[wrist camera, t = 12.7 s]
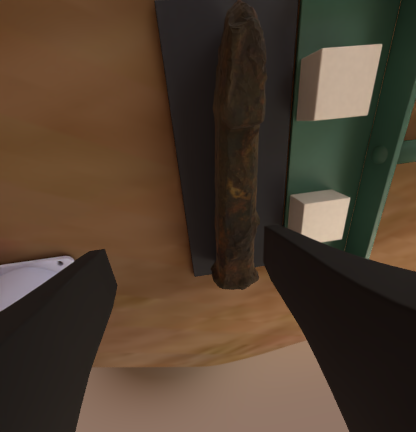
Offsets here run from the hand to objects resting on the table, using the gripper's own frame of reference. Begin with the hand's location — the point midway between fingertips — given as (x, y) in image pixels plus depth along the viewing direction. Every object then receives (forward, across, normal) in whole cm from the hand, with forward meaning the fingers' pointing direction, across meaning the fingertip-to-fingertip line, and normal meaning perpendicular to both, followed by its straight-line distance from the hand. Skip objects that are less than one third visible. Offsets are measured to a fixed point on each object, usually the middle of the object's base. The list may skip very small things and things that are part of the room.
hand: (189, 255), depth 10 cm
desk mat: (+9, -4, -2) cm, 10 cm away
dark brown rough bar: (+9, -3, -2) cm, 10 cm away
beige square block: (+9, -11, +3) cm, 15 cm away
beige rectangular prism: (+9, -11, -7) cm, 16 cm away
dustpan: (+9, -17, -2) cm, 20 cm away
